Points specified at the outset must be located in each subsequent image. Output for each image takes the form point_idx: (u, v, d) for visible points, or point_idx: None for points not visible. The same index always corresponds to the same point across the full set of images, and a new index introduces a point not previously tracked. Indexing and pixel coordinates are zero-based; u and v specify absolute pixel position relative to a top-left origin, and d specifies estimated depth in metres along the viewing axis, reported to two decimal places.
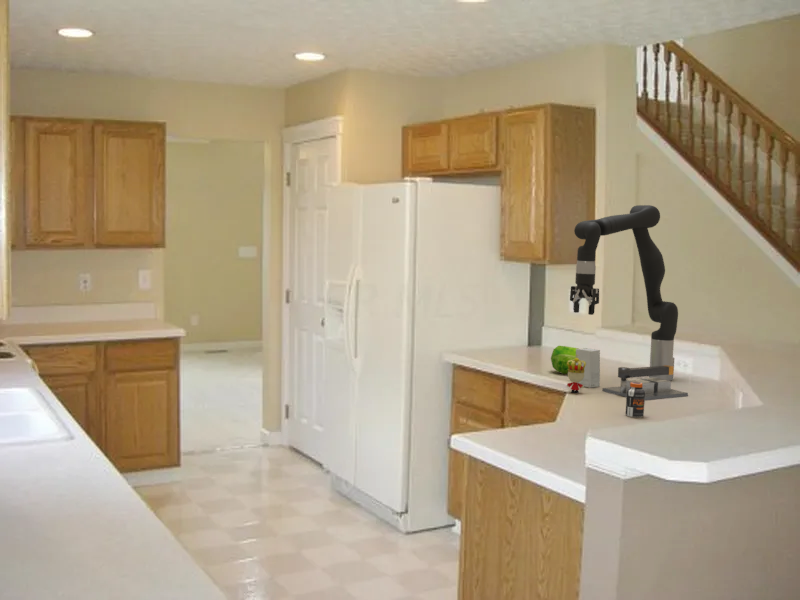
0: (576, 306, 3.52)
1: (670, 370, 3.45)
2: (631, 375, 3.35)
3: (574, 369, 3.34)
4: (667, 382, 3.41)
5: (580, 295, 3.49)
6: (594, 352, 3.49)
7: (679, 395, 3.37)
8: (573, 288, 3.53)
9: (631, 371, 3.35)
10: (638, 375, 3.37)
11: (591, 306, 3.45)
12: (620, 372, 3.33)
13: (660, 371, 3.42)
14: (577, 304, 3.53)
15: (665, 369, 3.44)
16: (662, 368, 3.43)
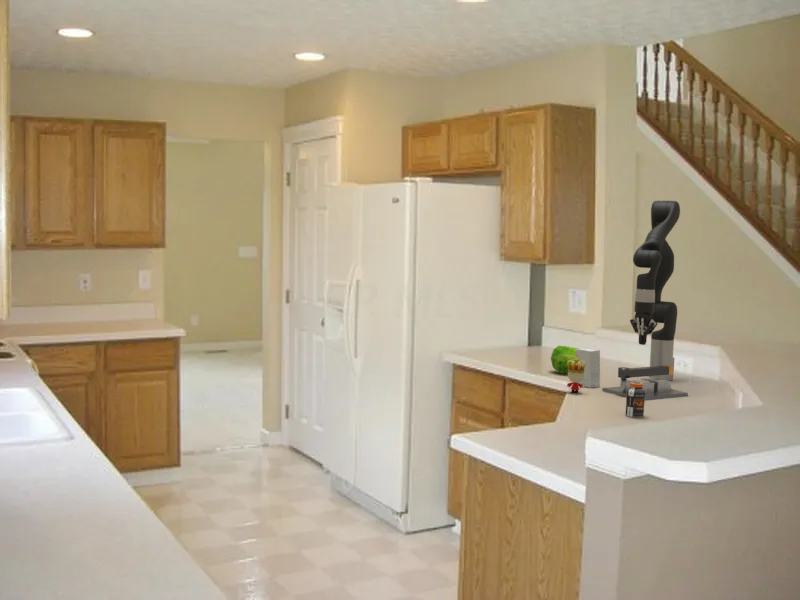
0: None
1: (670, 370, 3.45)
2: (631, 375, 3.35)
3: (574, 369, 3.34)
4: (667, 382, 3.41)
5: (641, 322, 3.48)
6: (594, 352, 3.49)
7: (679, 395, 3.37)
8: (632, 320, 3.53)
9: (631, 371, 3.35)
10: (638, 375, 3.37)
11: (643, 336, 3.48)
12: (620, 372, 3.33)
13: (660, 371, 3.42)
14: None
15: (665, 369, 3.44)
16: (662, 368, 3.43)
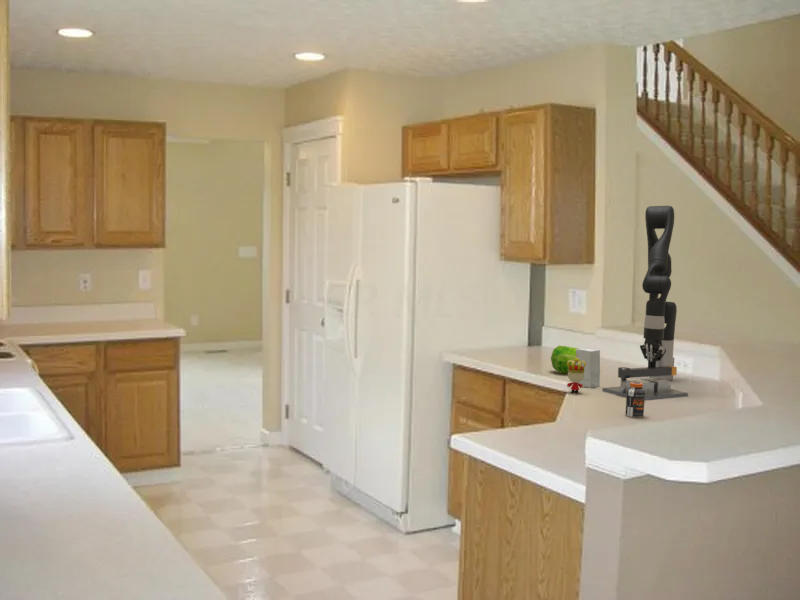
0: None
1: (673, 371, 3.44)
2: (631, 375, 3.35)
3: (574, 369, 3.34)
4: (667, 382, 3.41)
5: None
6: (594, 352, 3.49)
7: (679, 395, 3.37)
8: (642, 346, 3.48)
9: (631, 371, 3.34)
10: (639, 375, 3.36)
11: (652, 363, 3.44)
12: (619, 372, 3.34)
13: (662, 372, 3.41)
14: None
15: (667, 370, 3.42)
16: (664, 369, 3.42)
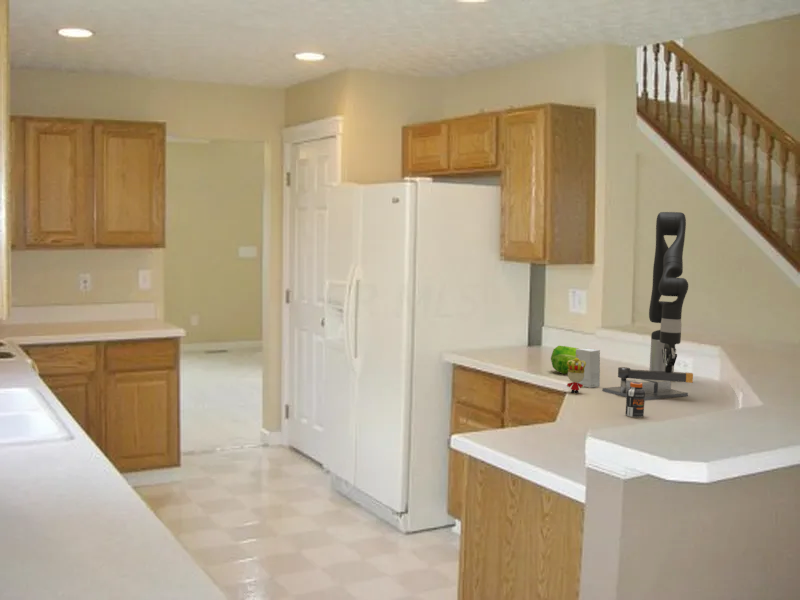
0: None
1: (688, 377, 3.28)
2: (630, 376, 3.33)
3: (574, 369, 3.34)
4: (667, 382, 3.41)
5: None
6: (594, 352, 3.49)
7: (679, 395, 3.37)
8: None
9: (630, 372, 3.33)
10: (640, 377, 3.32)
11: (667, 367, 3.33)
12: (618, 371, 3.35)
13: (673, 377, 3.30)
14: None
15: (680, 376, 3.29)
16: (676, 374, 3.29)
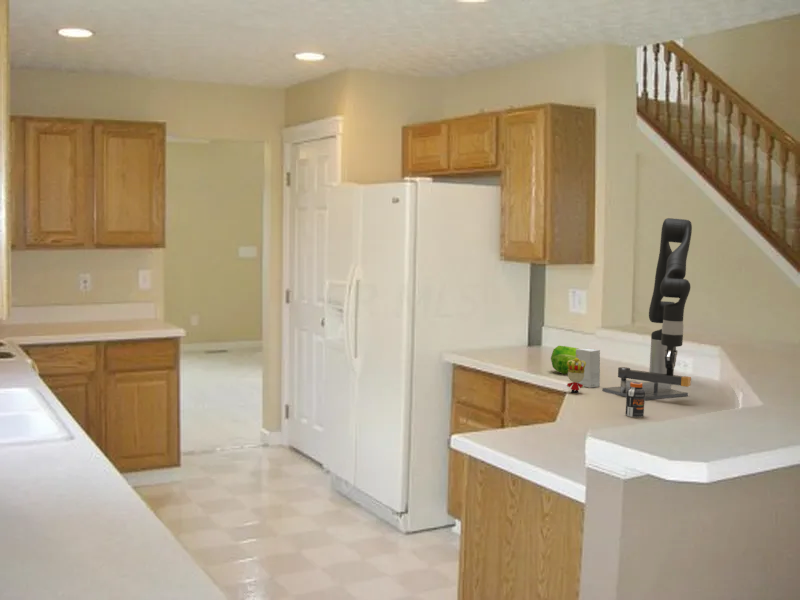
0: None
1: (683, 381, 3.20)
2: (628, 376, 3.32)
3: (574, 369, 3.34)
4: None
5: None
6: (594, 352, 3.49)
7: (679, 395, 3.37)
8: None
9: (628, 372, 3.32)
10: (637, 378, 3.30)
11: (667, 370, 3.27)
12: None
13: (668, 379, 3.23)
14: None
15: (675, 379, 3.22)
16: (671, 377, 3.22)
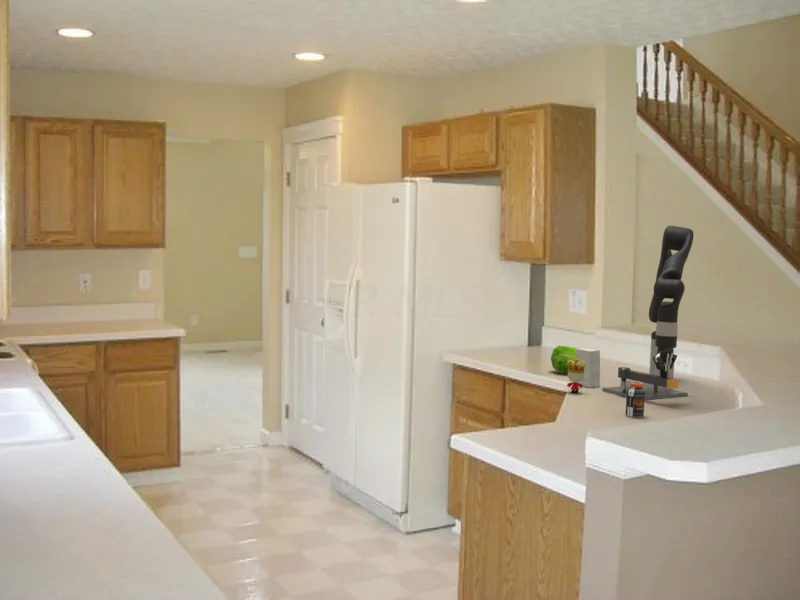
0: None
1: (668, 383, 3.14)
2: (625, 376, 3.32)
3: (574, 369, 3.34)
4: None
5: None
6: (594, 352, 3.49)
7: (679, 395, 3.37)
8: None
9: (625, 372, 3.32)
10: (633, 378, 3.29)
11: None
12: None
13: (657, 381, 3.19)
14: None
15: (662, 381, 3.17)
16: (659, 378, 3.18)
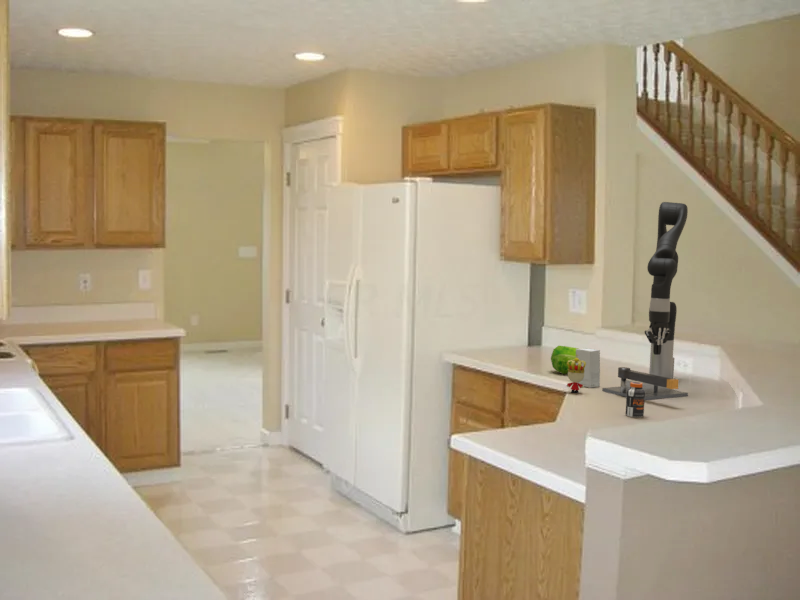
0: None
1: (668, 383, 3.14)
2: (625, 376, 3.32)
3: (574, 369, 3.34)
4: None
5: None
6: (594, 352, 3.49)
7: (679, 395, 3.37)
8: None
9: (625, 372, 3.32)
10: (632, 378, 3.29)
11: None
12: None
13: (657, 381, 3.19)
14: None
15: (662, 381, 3.17)
16: (659, 378, 3.18)
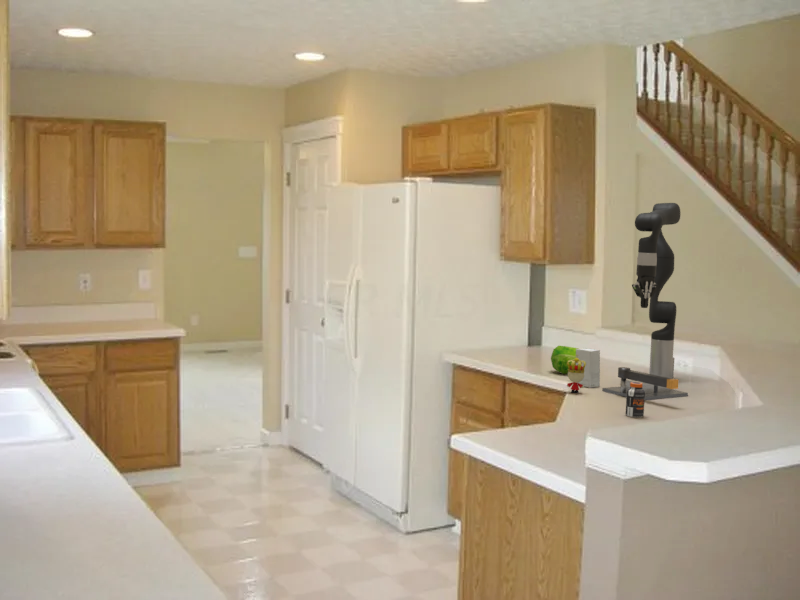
0: None
1: (668, 383, 3.14)
2: (625, 376, 3.32)
3: (574, 369, 3.34)
4: None
5: None
6: (594, 352, 3.49)
7: (679, 395, 3.37)
8: None
9: (625, 372, 3.32)
10: (632, 378, 3.29)
11: None
12: None
13: (657, 381, 3.19)
14: None
15: (662, 381, 3.17)
16: (659, 378, 3.18)
